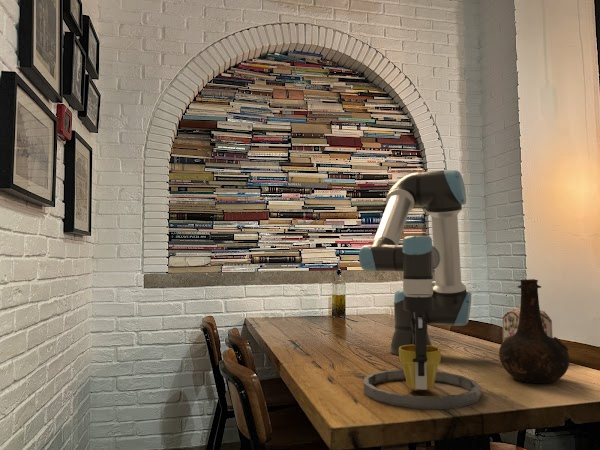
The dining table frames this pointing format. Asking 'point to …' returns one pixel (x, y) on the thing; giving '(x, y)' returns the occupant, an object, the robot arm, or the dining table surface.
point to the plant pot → (407, 357)
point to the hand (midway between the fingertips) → (420, 383)
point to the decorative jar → (513, 320)
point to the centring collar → (422, 401)
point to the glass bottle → (533, 344)
